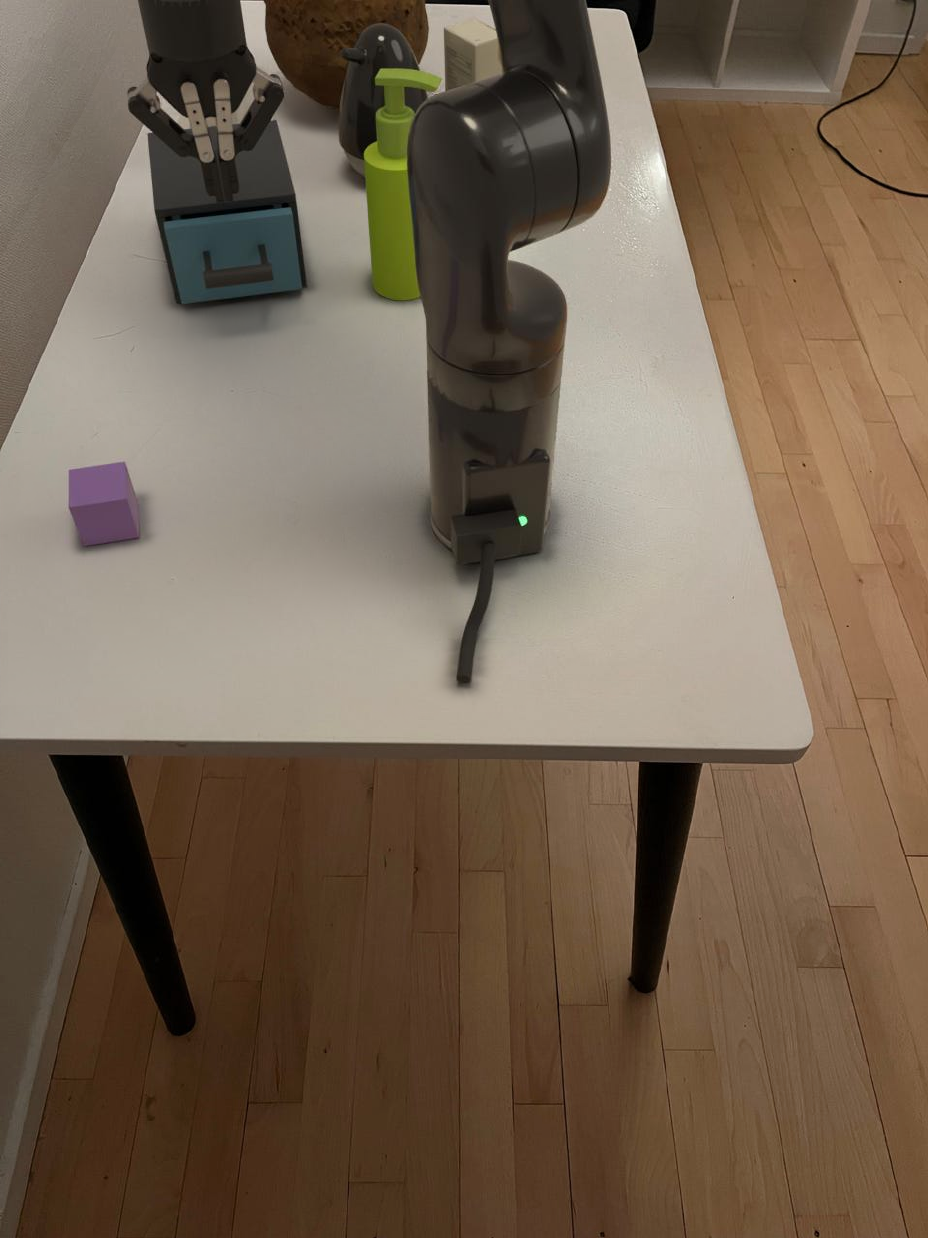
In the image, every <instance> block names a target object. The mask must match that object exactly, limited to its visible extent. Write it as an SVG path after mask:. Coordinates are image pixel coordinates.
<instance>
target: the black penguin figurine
mask: <svg viewBox="0 0 928 1238" xmlns="http://www.w3.org/2000/svg"><path fill="white" fill-rule="evenodd" d="M341 57H342V59H344V60H348V62H347V66H346V70H345V74H344V79H343V84H342V90H341V96H340V106H339V108H338V122H337V124H338V125H337V126H338V127H337V130H338V134H337V135H338V142H339V145H340V147H341V149H342V150H343V153H344V155H345V157H346V159H347V161H348V163H349V164H350V166H351V167H352V168H353V169H354V171H356V172H357V174H359V175H360V176H362V177H363V178H365V165H364V152H365V150H366V148H367V147H368V146H369V145H371V144H372V143H374V142H377V130H376V112H377V111H378V110H379V109H380V108H382V107H384V106H385V97H384V86H381V85H375V77H376V76H377V74H378V72H379V70H380V69H412V70H418V71H421V68H420V64H419V65H418V62H417V60H416V57H415V55H414V53H413V51H412V49H411V47H410V45H409V43H408V41H407V40H406V38H405V37H404V35H403V34H402V33H401V32H400V31H399V30H398V29H397V28H396V27H394V26H392V25H390V24H386V23H375V24H372V25H370V26H368V27H366V28H365V29H364V30H363V31H362V32H361V33H360V34H359V36H358V37H357V39H356V41H355V43H354V45H353V47H352V48H343V49H342V50H341ZM428 98H429V96H428V91H427V90H424V89H420V88H414V87H404V99H405V106H407V107H409V108H411V109H412V110H413V111H414V113H415V112H416V111H417V109H418V108H419V106H420V105H421V104H422V103H423V102H424V101H425V100H426V99H428Z"/></svg>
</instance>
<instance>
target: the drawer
mask: <svg viewBox="0 0 928 1238" xmlns="http://www.w3.org/2000/svg"><path fill="white" fill-rule="evenodd" d="M171 217H172V221H167V222H164V230H165V234H166V238H167V243H168V247H169V251H170V255H171V260H172V264H173V268H174V273H175V277H176V281H177V285H178V290H179V294H180V298H181V304H182V305H185V304H186V305H187V304H194V303H201V302H202V303H203V302H209V301H210V302H211V301H218V300H225V299H232V298H241V297H251V296H256V295H257V296H258V295H265V294H273V293H280V292H288V291H296V290H302V289H303V287H302V284H301V276H300V268H299V261H298V253H297V245H296V237H295V230H294V222H293V214H292V210H291V207H288V208H282V204H273V205H264V206H256V207H247V208H238V209H229V210H221V211H212V212H203V213H195V214H186V215H177V216H171Z"/></svg>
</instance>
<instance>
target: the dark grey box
mask: <svg viewBox="0 0 928 1238" xmlns="http://www.w3.org/2000/svg"><path fill="white" fill-rule="evenodd" d="M232 126H233V130H235V129H237V128H238V126H239V124H232ZM208 129H209V132H210V136H211V140H212V146H213V150H216V149H218V145H217V130H216V126H212V127H208ZM184 130H185V131H186V132H187V133H188V134H192V135H193V133H192V129H184ZM146 135H147V145H148V156H149V167H150V176H151V178H150V179H151V190H152V200H153V211H154V215H155V219H156V223H157V228H158V232H159V237H160V242H161V245H162V248H163V253H164V257H165V261H166V266H167V270H168V274H169V278H170V283H171V286H172V291H173V295H174V299H175V303H176V304H179V303H181V298H180V294H179V290H178V285H177V281H176V277H175V273H174V268H173V264H172V260H171V255H170V251H169V247H168V243H167V238H166V234H165V230H164V222H167V221H172V217H171V216H177V215H186V214H195V213H203V212H212V211H221V210H229V209H238V208H247V207H256V206H264V205H273V204H282V208H288V207H291V210H292V214H293V222H294V230H295V237H296V245H297V253H298V261H299V268H300V276H301V284H302V288H306V287H308V284H307V275H306V274H307V273H306V267H305V260H304V259H305V258H304V251H303V243H302V236H301V228H300V218H299V211H298V204H297V203H298V202H297V195H296V192H295V187H294V183H293V180H292V175H291V170H290V168H289V163H288V159H287V156H286V152H285V149H284V143H283V139H282V137H281V131H280V128H279V123H278V120H276V119H271V120H270V122H269V124H268V125H267V127H266V129H265V130H264V132H263V134H262V135H261V137H260V139H259V140H258V142H257V144H256V145H255V147H254V148H253V149H252V150H251V151H245V150H243V151H241V152H239V153H238V154H237V155H236V157H235V164H236V170H237V176H238V182H239V191H238V193H236V194H232V196H233V201H225V197H224V201H225V202H216V196H209V195H208V193H207V192H206V188H205V183H204V177H203V172H202V167H201V163H200V161H199V160H198V159H197V158H195V157H191V156H188V157H180V156H178V155H177V154H176V153H175V152H174V151H173V150H172V149H171V148H170V147H168V146H167V145H166V144H165V143H164V142H163V141H162V140H161V139H159V138H158V137H157V136H156V135H155V134H154V133H153V132H147V134H146ZM216 156H217V151H216ZM217 161H218V157H217ZM218 167H219V163H218ZM219 172H220V169H219ZM220 178H221V174H220ZM221 184H222V180H221ZM222 189H223V185H222ZM223 195H224V191H223ZM181 304H182V303H181Z"/></svg>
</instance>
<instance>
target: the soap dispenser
mask: <svg viewBox="0 0 928 1238" xmlns="http://www.w3.org/2000/svg"><path fill="white" fill-rule="evenodd" d="M442 81H443V78H442V77H440V76H437V75H435V74H432V73H429V72H426V71H422V70H420V71H418V70H412V69H380V70H379V72H378V74H377V76H376V77H375V85H381V86H384V97H385V106H384V107H382V108H380V109H379V110H378V111H377V112H376V130H377V142H374V143H372V144H371V145H369V146H368V147H367V148H366V150H365V152H364V165H365V177H364V178H365V192H366V193H365V194H366V207H367V208H366V209H367V219H368V221H367V223H368V234H369V235H368V236H369V250H370V263H371V264H370V265H371V278H372V287H373V290H374V291H375V292H376V293H377V294H378V295H379V296H381V297H383V298H386V299H389V300H394V301H411V300H415V299H418V298H421V296H420V292H419V288H418V283H417V277H416V267H415V253H414V240H413V228H412V218H411V208H410V198H409V188H408V175H407V144H408V135H409V130H410V126H411V122H412V119H413V117H414V115H415V113H414V111H413V110H412V109H411V108H409V107H407V106H405V99H404V87H414V88H420V89H424V90H426V91H427V92H431V93H434V92H436V91H437V90H438V89H439V87H440V85H441V82H442Z"/></svg>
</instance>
